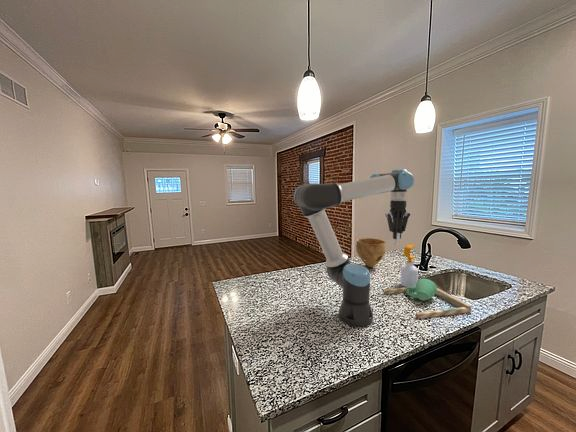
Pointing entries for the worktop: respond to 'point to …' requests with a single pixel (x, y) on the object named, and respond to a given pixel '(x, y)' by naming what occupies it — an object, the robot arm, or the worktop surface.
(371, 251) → the bowl
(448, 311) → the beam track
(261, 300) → the worktop surface
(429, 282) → the mug
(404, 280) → the soap bottle
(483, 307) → the worktop surface
